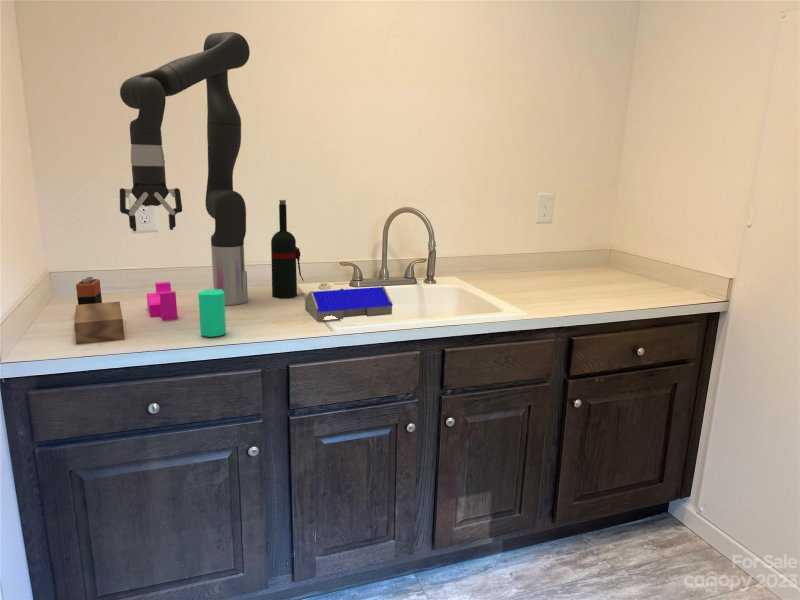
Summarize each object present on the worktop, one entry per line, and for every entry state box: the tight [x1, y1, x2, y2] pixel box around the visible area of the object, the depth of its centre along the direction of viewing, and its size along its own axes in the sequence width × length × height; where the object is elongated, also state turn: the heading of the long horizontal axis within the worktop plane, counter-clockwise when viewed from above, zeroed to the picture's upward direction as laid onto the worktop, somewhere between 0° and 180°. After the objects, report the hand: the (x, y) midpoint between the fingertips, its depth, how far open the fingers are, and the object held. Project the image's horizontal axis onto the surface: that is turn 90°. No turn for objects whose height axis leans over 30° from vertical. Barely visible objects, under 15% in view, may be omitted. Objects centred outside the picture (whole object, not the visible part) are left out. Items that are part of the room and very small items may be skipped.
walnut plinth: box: [73, 301, 125, 345], centre depth 143 cm, size 10×18×5 cm, turn 27°
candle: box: [197, 288, 227, 337], centre depth 143 cm, size 6×6×12 cm
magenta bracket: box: [146, 281, 178, 322], centre depth 159 cm, size 15×6×8 cm, turn 27°
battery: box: [75, 276, 103, 305], centre depth 157 cm, size 4×7×10 cm, turn 13°
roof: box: [304, 285, 393, 322], centre depth 166 cm, size 22×14×7 cm, turn 114°
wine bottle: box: [270, 199, 305, 300], centre depth 180 cm, size 8×10×30 cm
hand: (153, 230), depth 146 cm, fingers open, 8 cm apart
